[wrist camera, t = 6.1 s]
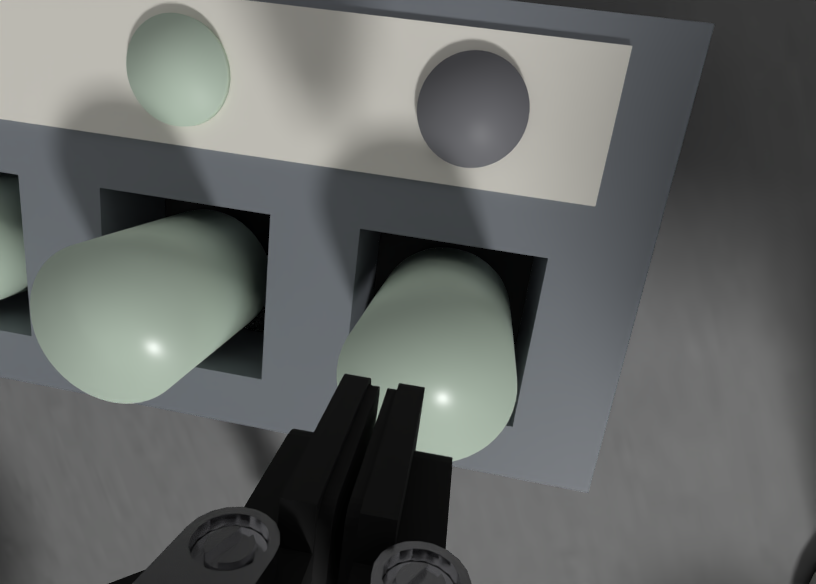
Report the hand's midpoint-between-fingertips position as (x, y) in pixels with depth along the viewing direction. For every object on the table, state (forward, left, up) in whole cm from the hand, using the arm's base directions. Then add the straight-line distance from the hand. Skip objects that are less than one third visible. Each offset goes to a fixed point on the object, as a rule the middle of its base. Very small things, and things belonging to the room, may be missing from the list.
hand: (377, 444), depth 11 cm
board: (+8, -2, -12) cm, 14 cm away
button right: (-1, 0, -10) cm, 10 cm away
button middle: (+8, 0, -10) cm, 13 cm away
